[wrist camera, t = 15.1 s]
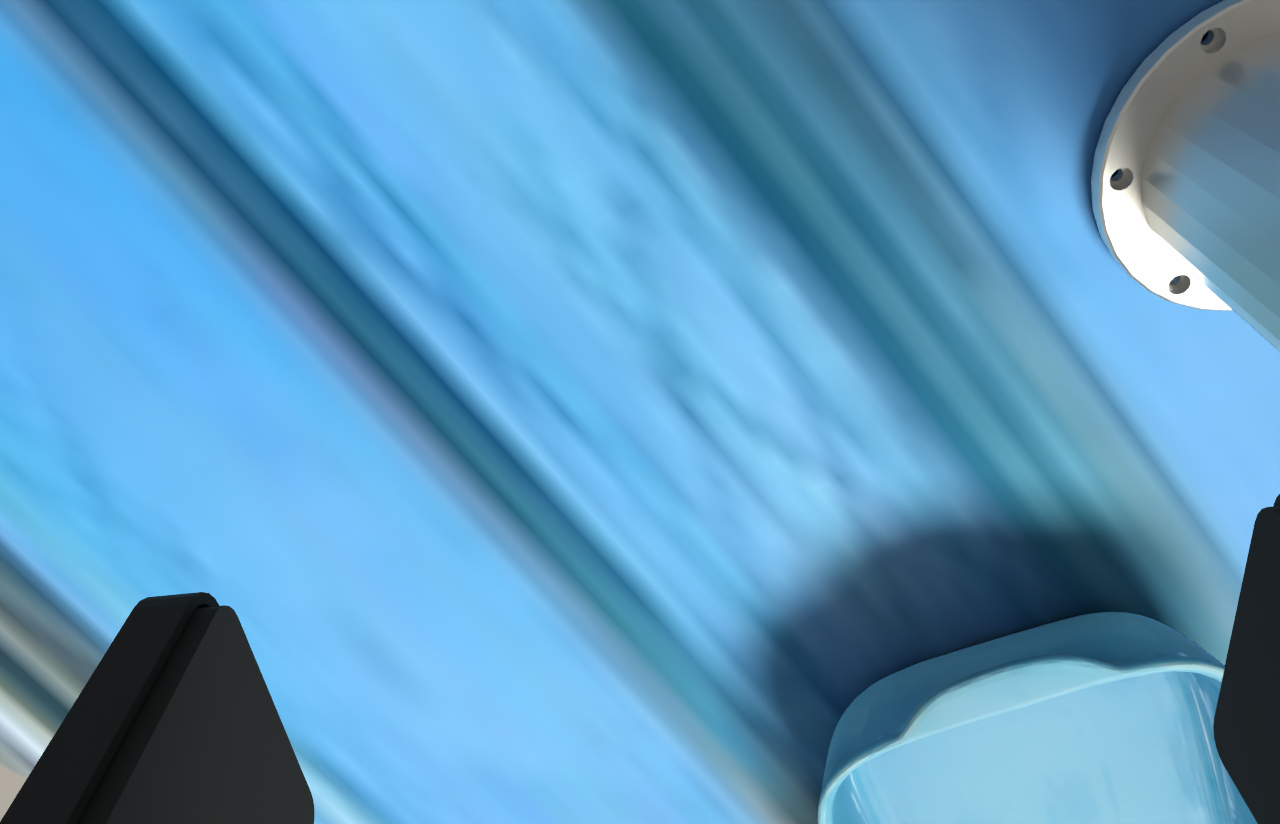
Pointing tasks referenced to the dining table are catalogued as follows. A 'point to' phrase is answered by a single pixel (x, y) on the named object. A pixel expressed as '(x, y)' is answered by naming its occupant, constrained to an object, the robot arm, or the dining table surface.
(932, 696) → the casserole dish
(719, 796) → the dining table surface
